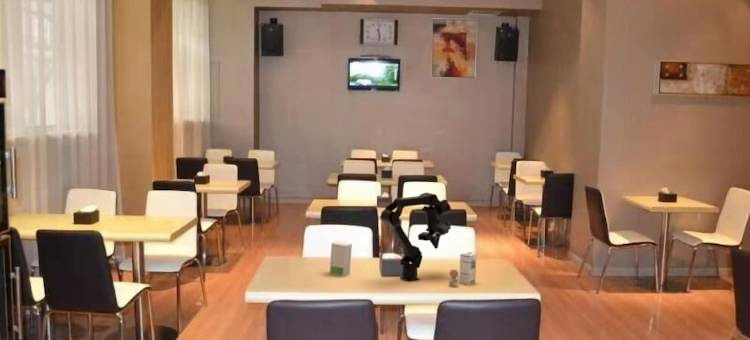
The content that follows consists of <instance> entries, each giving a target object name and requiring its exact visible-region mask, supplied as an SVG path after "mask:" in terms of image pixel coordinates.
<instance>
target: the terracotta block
mask: <svg viewBox="0 0 750 340" xmlns="http://www.w3.org/2000/svg"><path fill="white" fill-rule="evenodd" d="M450 276H452V277H458V278H459V269H449V277H450Z"/></svg>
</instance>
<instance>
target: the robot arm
mask: <svg viewBox="0 0 750 340" xmlns="http://www.w3.org/2000/svg"><path fill="white" fill-rule="evenodd" d="M422 205H423V208H421V212H423V213H425V218H426V220H424V223H425V224H426V225H427V228H426V229H425V231H423V232H421V233H418V235H417V238H418V240H419V241H426V242H427V241H429V242H430V243H431V244H432V247H433V248H434V249H435V250H437V249H438V248H439V244H440V239H441V236H445V235H446V234H448V233H449V231H450V230H451V229H452V226H451V223H450V221H446V222H441V221H442V220H441V219H440V218H439V216H443V215H445V214H448V213H450V212H451V210H452V209H451V208H452V207H451V206H450V203H449V202H448V200H447V199H441V200H440V199H439V197H438V196H437V194H435V193H431V192H423V193H421V194H420V195H417V196H409V197H400V198H399V197H397V198H395V199H394V200H393V201H392V202H391V203H389V205H387V206H386V207H385V208H384V209H383V210H382V212H381V213H380V217H379V218H380V220H381V221H382V222H383V223H384V225H386V227H388V228H390V230H391V231H392V233H393V235H394V236H395V238H396V240H397V241H398V243H399V244H400V246H401V248H402V249H403V256H402V258H401V260H400V266H402V276H400V279H401V280H405V281H407V282H411V281H412V282H413V281H417V280H419V279H420V278H419V277H418V269H420V266H421V264H422V259H423V252H422V251H421V250H420V247H418V246H416V245H414V244H412V242H411V240H409V238H408V235H407V234H406V232H405V231H404V229H403V228H402V226H401V219H400V217H401V216H402V213H403V209H404V208H406V207H414V206H422Z"/></svg>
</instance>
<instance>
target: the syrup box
mask: <svg viewBox="0 0 750 340" xmlns="http://www.w3.org/2000/svg"><path fill="white" fill-rule="evenodd" d="M459 254H460V255H459V258H460V259H459V274H458V284H459V283H460V284H462V283H463V285H469V286H470V285H472V284H474V283H476V268H477V267H476V264H477V253H476V252H471V251H465V252H462V253H459Z"/></svg>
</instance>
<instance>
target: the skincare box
mask: <svg viewBox="0 0 750 340" xmlns="http://www.w3.org/2000/svg"><path fill="white" fill-rule="evenodd" d="M352 247H353V244H352V243H351V242H350V243H349V242H345V241H341V240H337V241H334V242H332V243H331V248H330V263H329V275H332V276H333V275H334V276H339V277H343V278H344V277H347V276H349V275H350V274H351V263H352V261H351V259H352V249H353V248H352Z"/></svg>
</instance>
